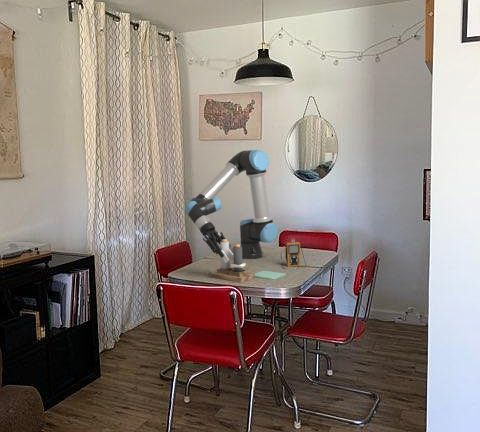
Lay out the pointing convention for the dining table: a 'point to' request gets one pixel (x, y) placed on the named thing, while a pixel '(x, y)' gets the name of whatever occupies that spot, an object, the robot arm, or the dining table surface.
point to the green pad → (269, 275)
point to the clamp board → (232, 275)
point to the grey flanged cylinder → (237, 259)
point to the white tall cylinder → (225, 247)
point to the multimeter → (293, 253)
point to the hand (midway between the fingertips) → (231, 260)
